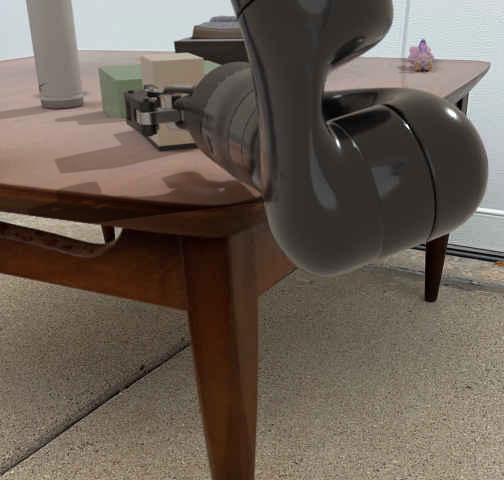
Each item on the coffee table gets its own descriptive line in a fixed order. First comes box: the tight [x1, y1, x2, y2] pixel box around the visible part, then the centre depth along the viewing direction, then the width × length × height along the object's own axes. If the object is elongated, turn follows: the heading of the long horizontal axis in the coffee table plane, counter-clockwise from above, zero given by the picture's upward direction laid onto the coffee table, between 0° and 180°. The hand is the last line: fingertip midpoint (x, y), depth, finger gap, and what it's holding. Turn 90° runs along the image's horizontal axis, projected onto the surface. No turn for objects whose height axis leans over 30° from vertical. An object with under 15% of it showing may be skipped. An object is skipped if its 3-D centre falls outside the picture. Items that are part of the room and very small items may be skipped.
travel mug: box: [25, 0, 85, 110], centre depth 99 cm, size 6×7×20 cm
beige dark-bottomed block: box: [139, 52, 204, 152], centre depth 72 cm, size 5×12×10 cm, turn 19°
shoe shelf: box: [97, 60, 221, 119], centre depth 93 cm, size 16×16×6 cm
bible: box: [173, 15, 249, 65], centre depth 140 cm, size 23×27×10 cm
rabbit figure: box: [405, 38, 440, 73], centre depth 135 cm, size 6×6×15 cm
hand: (195, 93), depth 61 cm, fingers open, 8 cm apart
